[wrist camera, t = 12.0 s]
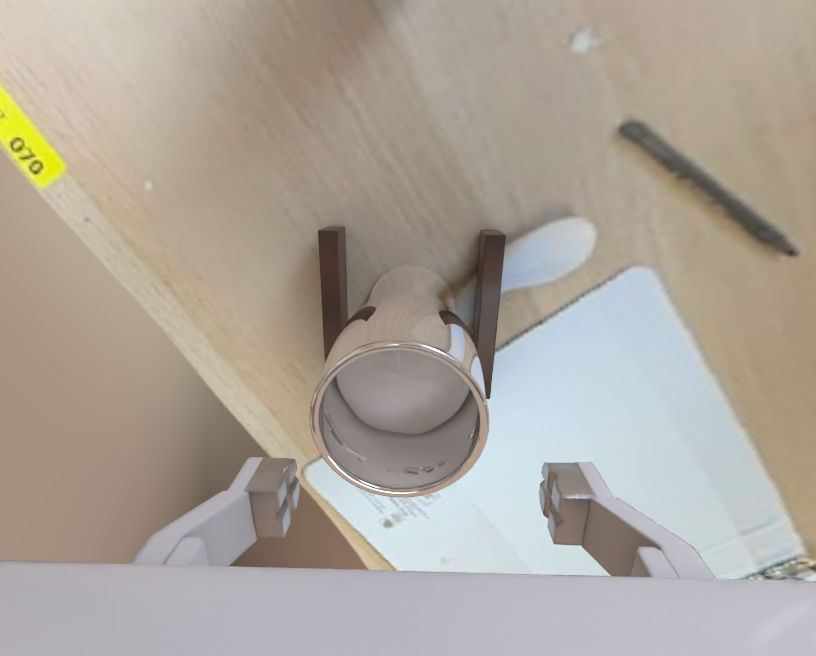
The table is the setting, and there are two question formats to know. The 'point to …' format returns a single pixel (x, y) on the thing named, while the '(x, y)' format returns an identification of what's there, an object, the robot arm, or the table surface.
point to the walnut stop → (484, 304)
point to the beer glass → (402, 391)
